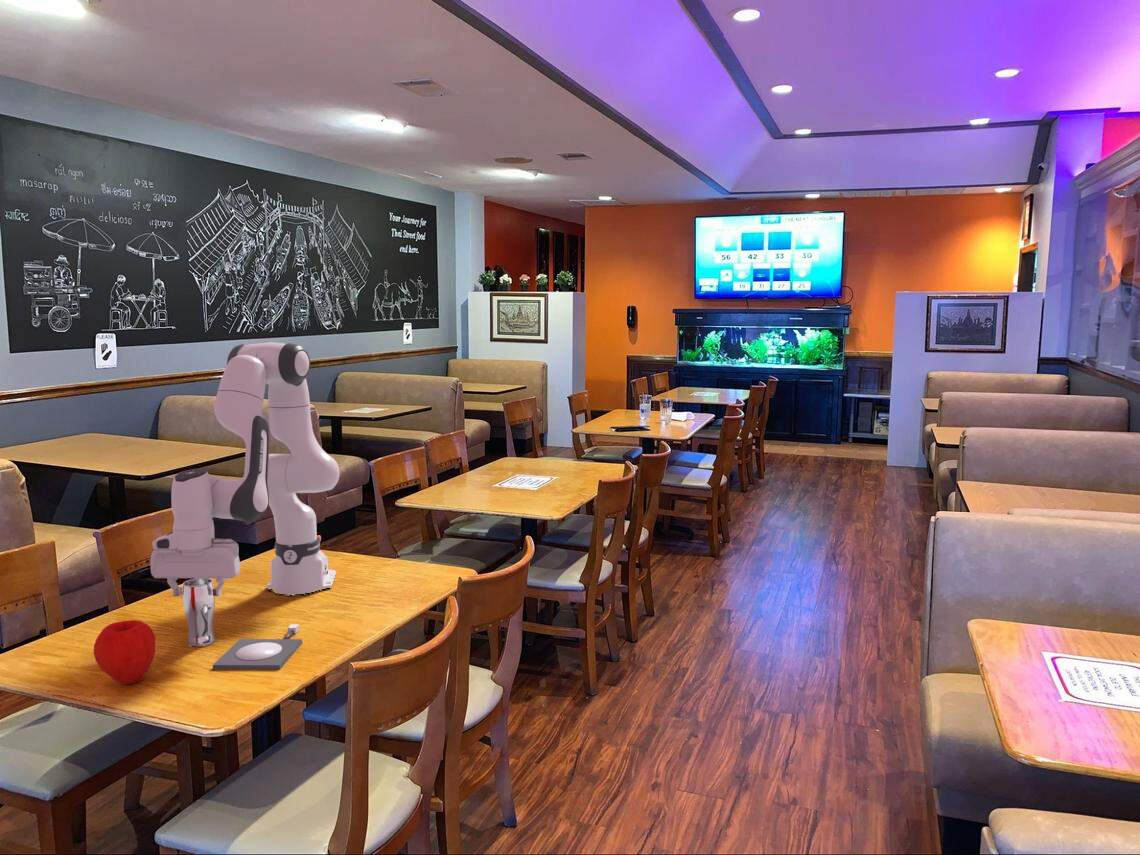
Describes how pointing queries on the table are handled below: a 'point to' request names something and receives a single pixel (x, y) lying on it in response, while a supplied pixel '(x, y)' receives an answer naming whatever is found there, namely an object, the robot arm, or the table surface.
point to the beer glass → (199, 610)
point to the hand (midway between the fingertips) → (197, 595)
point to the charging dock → (260, 652)
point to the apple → (125, 650)
